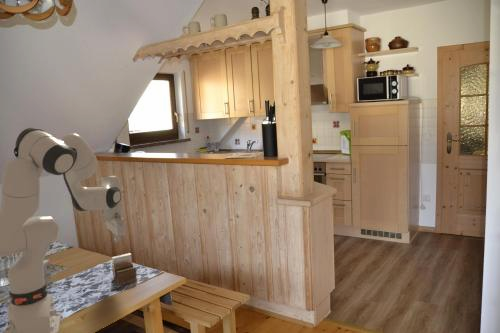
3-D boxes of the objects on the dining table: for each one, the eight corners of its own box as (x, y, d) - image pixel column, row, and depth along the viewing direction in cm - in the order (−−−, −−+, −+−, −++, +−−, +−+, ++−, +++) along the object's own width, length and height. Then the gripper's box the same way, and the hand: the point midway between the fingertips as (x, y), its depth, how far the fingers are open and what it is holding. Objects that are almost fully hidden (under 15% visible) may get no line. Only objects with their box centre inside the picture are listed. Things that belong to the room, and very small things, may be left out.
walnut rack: (136, 280, 183) (135, 266, 182) (118, 285, 179) (117, 271, 178) (131, 273, 191) (129, 260, 190) (113, 278, 187) (112, 264, 186)
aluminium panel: (133, 273, 188) (131, 254, 186) (115, 277, 184) (113, 258, 182) (131, 271, 189) (129, 253, 188) (114, 276, 185) (112, 257, 184)
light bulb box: (40, 281, 187) (36, 259, 185) (52, 282, 186) (49, 259, 184) (22, 292, 177) (19, 268, 175) (36, 293, 175) (32, 269, 174)
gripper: (128, 214, 176) (131, 245, 178) (114, 206, 193) (117, 234, 195) (113, 217, 172) (116, 248, 174) (100, 208, 189) (104, 237, 191)
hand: (117, 241), depth 185 cm, fingers closed
